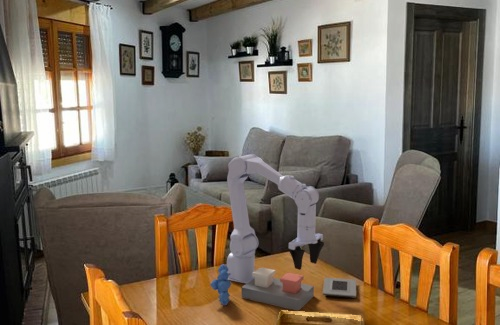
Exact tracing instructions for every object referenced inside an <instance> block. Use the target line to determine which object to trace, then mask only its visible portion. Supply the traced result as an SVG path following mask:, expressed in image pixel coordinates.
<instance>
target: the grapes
mask: <svg viewBox="0 0 500 325" xmlns="http://www.w3.org/2000/svg"><path fill="white" fill-rule="evenodd" d="M228 270H229V269H228V267H227V264H226V263H225V264H224V263H222V264H221V265H220V266H219V267H218V270H217V272H218V275H217V278H216V279H215V278H214V279H213V280H212V281H211V283H210V287H211V289H213V291H217V293H218V301H219V302H220V304H221V305H222V306H227V304H229V302H230V296H231V295H230V293H229V288H230V287H231V286H232V282H231V280H228V276H229V274H228V273H227V272H228Z"/></svg>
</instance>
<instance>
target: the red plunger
mask: <svg viewBox="0 0 500 325" xmlns="http://www.w3.org/2000/svg"><path fill="white" fill-rule="evenodd" d="M304 277H305V276H304V275H303V274H302V275H301V274H298V273H297V274H296V273H291V272H287V273H285V274H283V275H282V276H281V277H280V278H279V279H280V282H282V283H283V291H284V292H288V293H293V294H297V293H298V292H299V291H300V290H301V283H302V281H304V279H305V278H304Z"/></svg>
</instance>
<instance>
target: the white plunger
mask: <svg viewBox="0 0 500 325" xmlns="http://www.w3.org/2000/svg"><path fill="white" fill-rule="evenodd" d="M274 275H276V269H272V268H266V267H258V268H257V269H255V271H254V272H253V273H252V276H253V277H255V285H256V286H261V287H265V288H268V287H269V286H270V285H272V284H273V278H274Z"/></svg>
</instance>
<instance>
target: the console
mask: <svg viewBox="0 0 500 325" xmlns="http://www.w3.org/2000/svg"><path fill="white" fill-rule="evenodd" d="M314 289H315V287H314V285H309V284H306V283H302V282H301V290H300V291H299V292H298V293H297V294H293V293H288V292H284V291H283V283H282V282H280V278H277V277H276V278H275V277H273V284H272V285H270V286H269V287H268V288H265V287H261V286H256V285H255V278H254V279H253V280H251V281H250V282H248V283H247V284H245V283H244V285H243V286H241V298H242V299H245V300H249V301H254V302H259V303H262V304H267V305H270V306H271V305H272V306H276V307H281V308H284V309H288V310H292V309H293V310H292V311H297V310H299V311H300V310H301V309H302V308H304V306H305V305H306V304H307V303H309V301H310V300H312V299H313V297H314V296H315V295H314V294H315V290H314Z"/></svg>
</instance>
